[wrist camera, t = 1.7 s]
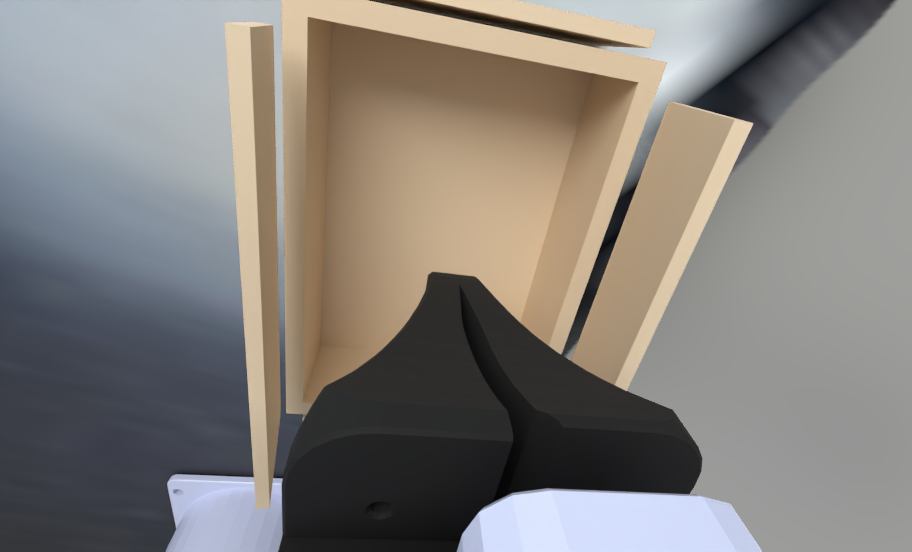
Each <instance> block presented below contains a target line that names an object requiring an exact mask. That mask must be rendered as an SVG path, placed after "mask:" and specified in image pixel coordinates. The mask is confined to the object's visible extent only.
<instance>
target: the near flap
mask: <svg viewBox="0 0 912 552" xmlns="http://www.w3.org/2000/svg"><path fill="white" fill-rule="evenodd" d="M225 36H226V51H227V67H228V82H229V98H230V113H231V129H232V144H233V160H234V175H235V191H236V206H237V222H238V237H239V253H240V268H241V284H242V299H243V315H244V330H245V346H246V362H247V377H248V393H249V408H250V424H251V439H252V455H253V470H254V486H255V501H256V509H263V508H270V501H271V492H272V483H273V475H274V466H275V457H276V449H277V440H278V432H279V423H280V414H281V406H280V354H279V302H278V250H277V198H276V146H275V94H274V42H273V25H270V24H265V23H259V22H225Z"/></svg>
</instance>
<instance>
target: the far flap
mask: <svg viewBox="0 0 912 552" xmlns="http://www.w3.org/2000/svg"><path fill="white" fill-rule="evenodd" d="M752 125H753V123H750V122H746V121H743V120H739V119H735V118H732V117H728V116H724V115H720V114H717V113H713V112H709V111H706V110H702V109H698V108H695V107H691V106H687V105H683V104H679V103H674V102H669V103H668V106H667V108H666V111H665V114H664V116H663V119H662V122H661V124H660V127H659V130H658V132H657V135H656V138H655V140H654V143H653V145H652V148H651V151H650V153H649V156H648V159H647V161H646V164H645V167H644V169H643V172H642V175H641V177H640V180H639V182H638V185H637V188H636V190H635V193H634V196H633V198H632V201H631V204H630V206H629V209H628V212H627V214H626V217H625V220H624V222H623V225H622V227H621V230H620V233H619V235H618V238H617V241H616V243H615V246H614V249H613V251H612V254H611V257H610V259H609V262H608V264H607V267H606V270H605V272H604V275H603V278H602V280H601V283H600V286H599V288H598V291H597V294H596V296H595V299H594V302H593V304H592V307H591V309H590V312H589V315H588V317H587V320H586V323H585V325H584V328H583V331H582V333H581V336H580V339H579V341H578V344H577V347H576V349H575V352H574V354H573V357H572V360H571V361H572V362H573V363H575V364H577V365H578V366H580V367H582V368H583V369H585V370H586V371H588V372H590V373H592V374H594V375H596V376H597V377H599V378H601V379H603V380H605V381H607V382H609V383H611V384H613V385H615V386H617V387H619V388H621V389H623V390H625V391H627V389H628V387H629V385H630V383H631V381H632V379H633V377H634V375H635V373H636V370H637V368H638V366H639V364H640V362H641V360H642V358H643V355H644V353H645V351H646V349H647V347H648V345H649V343H650V341H651V338H652V336H653V334H654V332H655V330H656V328H657V326H658V324H659V322H660V320H661V317H662V315H663V313H664V311H665V309H666V307H667V305H668V303H669V300H670V299H671V296H672V294H673V292H674V290H675V288H676V286H677V284H678V282H679V279H680V277H681V275H682V273H683V271H684V269H685V267H686V265H687V263H688V261H689V258H690V256H691V254H692V252H693V250H694V248H695V246H696V244H697V242H698V239H699V237H700V235H701V233H702V231H703V229H704V227H705V224H706V222H707V220H708V218H709V216H710V214H711V212H712V210H713V208H714V206H715V203H716V201H717V199H718V197H719V194H720V193H721V191H722V189H723V186H724V184H725V182H726V180H727V178H728V176H729V174H730V172H731V170H732V168H733V165H734V163H735V161H736V159H737V157H738V155H739V153H740V151H741V149H742V146H743V144H744V142H745V140H746V138H747V136H748V134H749V132H750V130H751V127H752Z"/></svg>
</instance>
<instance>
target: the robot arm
mask: <svg viewBox="0 0 912 552" xmlns="http://www.w3.org/2000/svg"><path fill="white" fill-rule="evenodd" d="M701 467H702V457H701V454H700V451H699V448H698V446H697V445H696V443H695V442H694V440H693V439H692V437H691V436H690V434H689V433H688V431H687V430H686V428H685V427H684V426H683V424H682V423H681V422H680V420H679V418H678V417H677V415H676V414H675V413H674V411H673V410H671V409H669V408H666V407H664V406H662V405H659V404H657V403H654V402H652V401H649V400H647V399H644V398H642V397H639V396H637V395H635V394H632V393H630V392H628V391H625V390H623V389H621V388H619V387H617V386H615V385H613V384H611V383H609V382H607V381H605V380H603V379H601V378H599V377H597V376H596V375H594V374H592V373H590V372H588V371H586V370H585V369H583V368H582V367H580V366H578V365H577V364H575V363H573V362H572V361H570V360H568V359H567V358H565V357H564V356H562V355H561V354H559V353H558V352H556V351H555V350H554V349H552V348H551V347H550V346H548V345H547V344H546V343H544V342H543V341H541V340H540V339H539V338H538V337H536V336H535V335H534V334H533V333H531V332H530V331H529V330H528V329H527V328H526V327H525V326H524V325H522V324H521V323H520V322H519V321H518V320H517V319H516V318H515V317H514V316H513V315H512V314H511V313H510V312H509V311H508V310H507V309H506V308H505V307H504V306H503V305H502V304H501V303H500V302H499V301H498V300H497V299H496V298H495V297H494V296H493V294H492V293H491V292H490V291H489V290H488V289H487V288H486V287H485V286H484V285H483V284H482V282H481V281H480V280H479V279H478V278H477V277H475V276H467V275H458V274H450V273H441V272H431V273H430V274H428V278H427V284H426V290H425V293H424V295H423V297H422V299H421V301H420V303H419V305H418V306H417V308H416V309H415V311H414V312H413V314H412V315H411V317H410V319H409V320H408V321H407V323H406V324H405V325H404V327H403V328H402V329H401V330H400V331H399V332H398V334H397V335H396V336H395V337H394V338H393V339H392V340H391V341H390V342H389V343H388V344H387V345H386V346H385V347H384V348H383V349H382V350H381V351H379V352H378V353H377V354H376V355H375V356H373V357H372V358H371V359H369V360H368V361H367V362H365V363H364V364H363V365H361V366H360V367H359V368H357V369H356V370H354V371H353V372H351V373H349V374H347V375H346V376H344V377H342V378H340V379H338V380H336V381H334V382H332V383H330V384H328V385H326V386H325V387H324V388H323V389H322V391H321V392H320V394H319V395H318V397H317V398H316V400H315V401H314V403H313V404H312V406H311V408H310V410H309V411H308V413H307V415H306V416H305V418H304V420H303V422H302V424H301V426H300V428H299V430H298V432H297V434H296V437H295V439H294V441H293V444H292V446H291V449H290V453H289V456H288V459H287V463H286V466H285V469H284V474H283V478H273V483H272V492H271V501H270V508H263V509H256V501H255V486H254V477H236V476H212V475H187V474H176V475H173V476H172V477H171V478H170V479H169V481H168V483H167V486H168V491H169V496H170V501H171V505H172V510H173V515H174V520H175V525H176V531H175V533H174V535H173V537H172V539H171V541H170V543H169V545H168V548H167V550H166V552H762V550H761V549H760V547H759V546H758V544H757V543H756V541H755V540H754V539H753V537H752V536H751V534H750V533H749V531H748V530H747V528H746V527H745V525H744V524H743V522H742V521H741V519H740V518H739V517H738V515H737V514H736V512H735V510H734V509H733V507H732V506H731V504H729V503H725V502H721V501H717V500H714V499H710V498H706V497H703V496H699V495H694V494H690V492H691V490H692V489H693V488H694V486H695V483H696V481H697V479H698V477H699V475H700V472H701Z"/></svg>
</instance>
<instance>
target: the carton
mask: <svg viewBox="0 0 912 552" xmlns="http://www.w3.org/2000/svg"><path fill="white" fill-rule="evenodd" d="M381 1H386V2H391V3H395V4H400V5H405V6H410V7H415V8H419V9H424V10H429V11H434V12H438V13H443V14H448V15H453V16H458V17H462V18H467V19H472V20H477V21H482V22H486V23H491V24H496V25H501V26H505V27H510V28H515V29H520V30H525V31H529V32H534V33H539V34H544V35H549V36H553V37H558V38H563V39H568V40H572V41H577V42H582V43H587V44H592V45H596V46H614V47H638V48H650V47H651V45H652V42H653V39H654V36H655V33H656V31H654V30H649V29H645V28H640V27H636V26H631V25H627V24H622V23H617V22H613V21H608V20H604V19H599V18H595V17H590V16H586V15H581V14H576V13H572V12H567V11H563V10H558V9H554V8H549V7H545V6H540V5H535V4H531V3H526V2H522V1H517V0H381ZM282 63H283V155H284V247H285V338H286V413H291V414H304V415H303V419H302V422H303V420H304V418H305V416H306V415H307V413H308V411H309V410H310V408H311V406H312V404H313V403H314V401H315V400H316V398H317V397H318V395H319V394H320V392H321V391H322V389H323V388H324V387H325V386H326V385H328V384H330V383H332V382H334V381H336V380H338V379H340V378H342V377H344V376H346V375H347V374H349V373H351V372H353V371H354V370H356V369H357V368H359V367H360V366H361V365H363V364H364V363H365V362H367V361H368V360H369V359H371V358H372V357H373V356H375V355H376V354H377V353H378V352H379V351H381V350H382V349H383V348H384V347H385V346H386V345H387V344H388V343H389V342H390V341H391V340H392V339H393V338H394V337H395V336H396V335H397V334H398V332H399V331H400V330H401V329H402V328H403V327H404V325H405V324H406V323H407V321H408V320H409V319H410V317H411V315H412V314H413V312H414V311H415V309H416V308H417V306H418V305H419V303H420V301H421V299H422V297H423V295H424V293H425V290H426V284H427V278H428V274H430V273H431V272H441V273H450V274H458V275H467V276H475V277H477V278H478V279H479V280H480V281H481V282H482V284H483V285H484V286H485V287H486V288H487V289H488V290H489V291H490V292H491V293H492V294H493V296H494V297H495V298H496V299H497V300H498V301H499V302H500V303H501V304H502V305H503V306H504V307H505V308H506V309H507V310H508V311H509V312H510V313H511V314H512V315H513V316H514V317H515V318H516V319H517V320H518V321H519V322H520V323H521V324H522V325H524V326H525V327H526V328H527V329H528V330H529V331H530V332H531V333H533V334H534V335H535V336H536V337H538V338H539V339H540V340H541V341H543V342H544V343H546V344H547V345H548V346H550V347H551V348H552V349H554V350H555V351H556V352H558V353H559V354H562V352H563V349H564V346H565V343H566V341H567V338H568V335H569V332H570V330H571V327H572V324H573V321H574V318H575V316H576V313H577V310H578V307H579V305H580V302H581V299H582V296H583V294H584V291H585V288H586V285H587V283H588V280H589V277H590V274H591V271H592V269H593V266H594V263H595V260H596V258H597V255H598V252H599V249H600V247H601V244H602V241H603V238H604V236H605V233H606V230H607V227H608V224H609V222H610V219H611V216H612V213H613V211H614V208H615V205H616V202H617V200H618V197H619V194H620V191H621V189H622V186H623V183H624V180H625V177H626V175H627V172H628V169H629V166H630V164H631V161H632V158H633V155H634V153H635V150H636V147H637V144H638V142H639V139H640V136H641V133H642V130H643V128H644V125H645V122H646V119H647V117H648V114H649V111H650V108H651V106H652V103H653V100H654V97H655V95H656V92H657V89H658V86H659V83H660V81H661V78H662V75H663V72H664V70H665V67H666V64H667V62H662V61H657V60H652V59H647V58H643V57H638V56H633V55H628V54H623V53H619V52H614V51H609V50H604V49H599V48H595V47H590V46H585V45H580V44H575V43H571V42H566V41H561V40H556V39H551V38H547V37H542V36H537V35H532V34H527V33H523V32H518V31H513V30H508V29H503V28H498V27H494V26H489V25H484V24H479V23H474V22H470V21H465V20H460V19H455V18H450V17H446V16H441V15H436V14H431V13H426V12H422V11H417V10H412V9H407V8H402V7H398V6H393V5H388V4H383V3H378V2H374V1H369V0H282Z"/></svg>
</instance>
